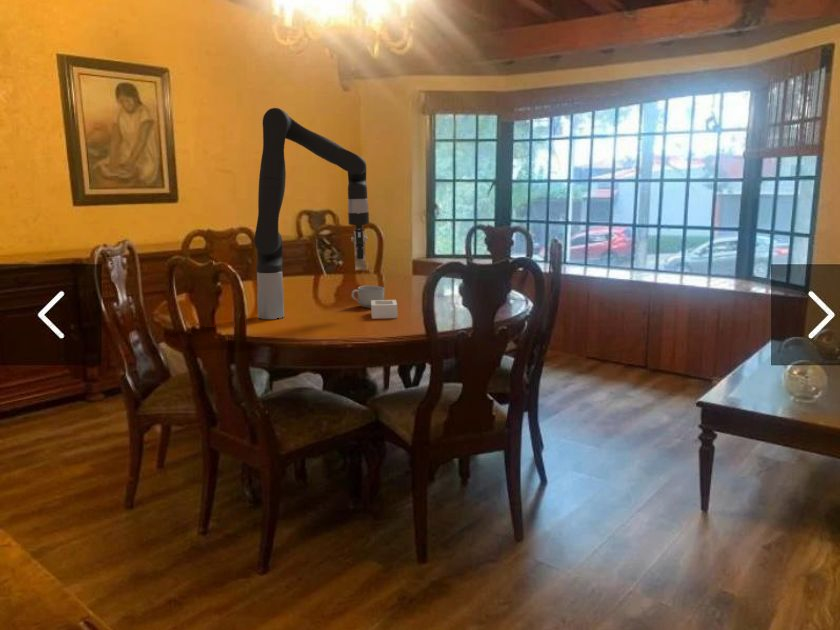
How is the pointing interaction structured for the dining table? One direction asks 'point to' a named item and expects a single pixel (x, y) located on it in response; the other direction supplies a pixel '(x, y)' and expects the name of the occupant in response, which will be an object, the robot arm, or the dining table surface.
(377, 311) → the well
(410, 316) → the dining table surface
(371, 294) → the teacup
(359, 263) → the bracket
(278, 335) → the dining table surface
